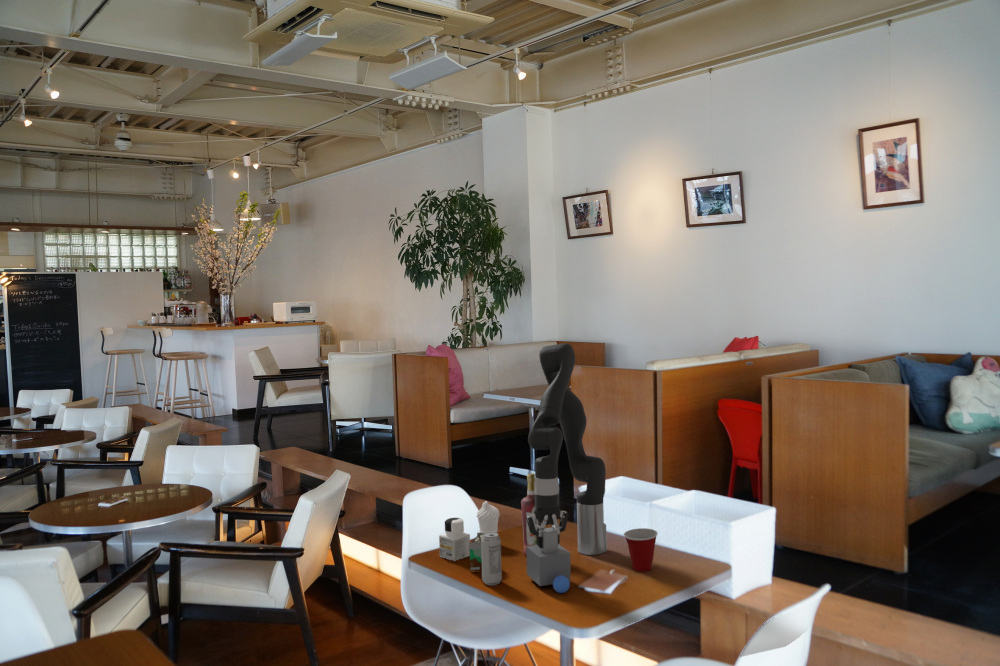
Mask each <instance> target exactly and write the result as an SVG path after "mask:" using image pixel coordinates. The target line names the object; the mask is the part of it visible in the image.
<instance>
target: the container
mask: <svg viewBox="0 0 1000 666" xmlns="http://www.w3.org/2000/svg"><path fill="white" fill-rule="evenodd" d="M464 523H465V521H464V520H463V519H462V518H459V517H449V518H447V519H445V520H444V533H442V534H439V535H438V539H439V540H438V541H439V557H440V558H442V559H445V558H446V560H449V561H452V560H453V561H452V562H456V560H457V561H459V559H460V560H461V559H464V558H467V557H470V550H469V542H470V543H471V535H470V533H467V532H464V531H465V525H464Z"/></svg>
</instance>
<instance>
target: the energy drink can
mask: <svg viewBox="0 0 1000 666" xmlns="http://www.w3.org/2000/svg"><path fill="white" fill-rule="evenodd" d="M481 549H482V571H481V579H482V580H481V581H483V583H485V585H486V584H487V585H486V586H498V585H499V584H501V581H502V579H503V578H502V575H503V574H502V539H501V537H500V535H499V533H494V532H489V533H485V534H483V538H482V540H481ZM497 584H498V585H497Z"/></svg>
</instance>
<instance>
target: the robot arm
mask: <svg viewBox="0 0 1000 666" xmlns="http://www.w3.org/2000/svg"><path fill="white" fill-rule="evenodd" d="M539 361H540V362H539V363H540V366H541V370H542V371H543V374H544V377H545V380H546V381H547V382H546V383H547V385H548V387H547V388H545V391H544V392H543V394H542V395H541V398H540V402H539V408H538V413H537V416H536V418H535V420H534V423H533V424H532V425H531V428H530V430H529V433H528V437H527V442H528V445H529V447H530V448H532V449H533V450H536V451H537V450H539V451H541V450H543V451H544V450H545V451H550V453H549V455H546V456H541V457H538V458H536V459H535V461H534V474H535V482H534V484H535V512H534V514H532V515H530V516H529V515H527V516H526V520H527V523H528V527H529V530H530V533H531V534H533V535H536V543H537V546H538V547H539V548H540V549H541V548H543V537H542V534H543V530H544V529H545V528H546V526H548V525H550V526H551V527H552V528H553V529H555V530H556V531H557V532H558V544H559V545H560V541H561V540H560V534H561V533H563V532H565V531H566V527H567V523H568V520H569V516H570V513H569V512H568V511H566V510H561V509H560V484H559V483H560V482H559V473H558V472H559V469H558V467H559V466H558V464H559V457H560V456H559V455H560V452H561V448H562V445H563V441H564V442H565V446H566V452H567V457H568V461H569V463H568V464H569V467H570V471H571V475H572V476H573V478H574V479H575V480H577V481H579V482H582V483H586V489H585V490H583V491H579V492H578V493H577V494H576V519H577V520H576V521H577V523H576V524H577V526H576V527H577V552H578V553H579V554H583V555H585V556H595V555H597V556H598V555H601V554H604V553H606V552H607V551H608V548H607V546H608V545H607V544H608V542H607V538H608V537H607V524H606V523H605V522H604V521H605V517H604V516H605V515H604V509H605V508H604V497H605V493H606V478H607V476H606V469H607V468H606V465H605V462H604V460H603V458H601V457H598V456H591V455H587V454H586V452H585V449H584V445H583V444H584V443H583V438H584V434H585V431H586V427H587V416H586V412H585V409H584V406H583V403H582V401H581V400H580V398H579V397H578V396H577V395H576V394H575V393H574V392H573V391H572V390H570V389H569V388H568V385H569V384H570V383H569V382H570V380H571V378H572V374H573V371H574V368H575V365H576V353H575V350H574V348H573V346H572V345H571V344H570V343H558V344H551V345H550V344H549V345H545V346H542V347H541V348H540V350H539ZM557 424H560V425H559V426H560V428H561V429H560V428H559V427H558V426H556V425H557ZM535 517H536V519H537V520H538V522H537V529H535V525H534V521H535ZM559 517H560V520H559V523H558V518H559Z"/></svg>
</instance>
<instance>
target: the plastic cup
mask: <svg viewBox="0 0 1000 666" xmlns="http://www.w3.org/2000/svg"><path fill="white" fill-rule="evenodd" d="M658 534H659V533H658V531H657V530H654V529H652V528H643V527H642V528H641V527H640V528H633V529H629V530H627V531H625V532H624V533H623V536H624V538H625V540H626V544H627V547H628V551H629V557H630V560H631V566H632V570H633V571H634V572H638V573H648V572H650V571H651V570H652V569H653V568H652V567H653V566H652V565H653V560H654V554H655V546H656V540H657V536H658Z"/></svg>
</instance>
